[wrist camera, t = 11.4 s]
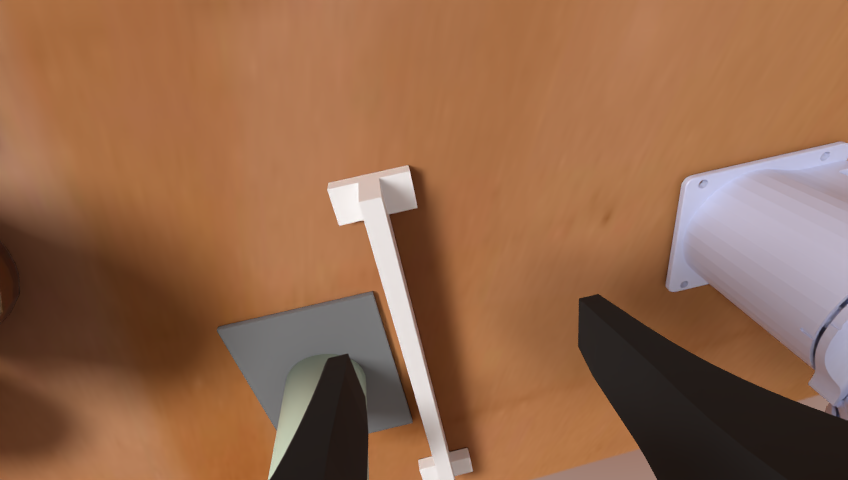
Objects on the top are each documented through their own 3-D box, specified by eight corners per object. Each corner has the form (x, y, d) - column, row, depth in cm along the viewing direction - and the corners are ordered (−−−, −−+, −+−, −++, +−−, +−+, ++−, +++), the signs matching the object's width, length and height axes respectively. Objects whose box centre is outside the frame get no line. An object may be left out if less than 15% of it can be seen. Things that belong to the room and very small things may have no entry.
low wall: (408, 165, 21) (415, 189, 18) (470, 462, 34) (479, 500, 31) (328, 182, 20) (324, 210, 18) (422, 473, 34) (428, 512, 31)
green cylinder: (355, 345, 26) (355, 472, 19) (373, 399, 28) (379, 527, 21) (274, 364, 25) (244, 499, 19) (300, 416, 28) (282, 551, 21)
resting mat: (372, 291, 24) (372, 294, 24) (412, 419, 30) (412, 422, 30) (218, 326, 24) (216, 330, 24) (290, 448, 30) (289, 452, 30)
